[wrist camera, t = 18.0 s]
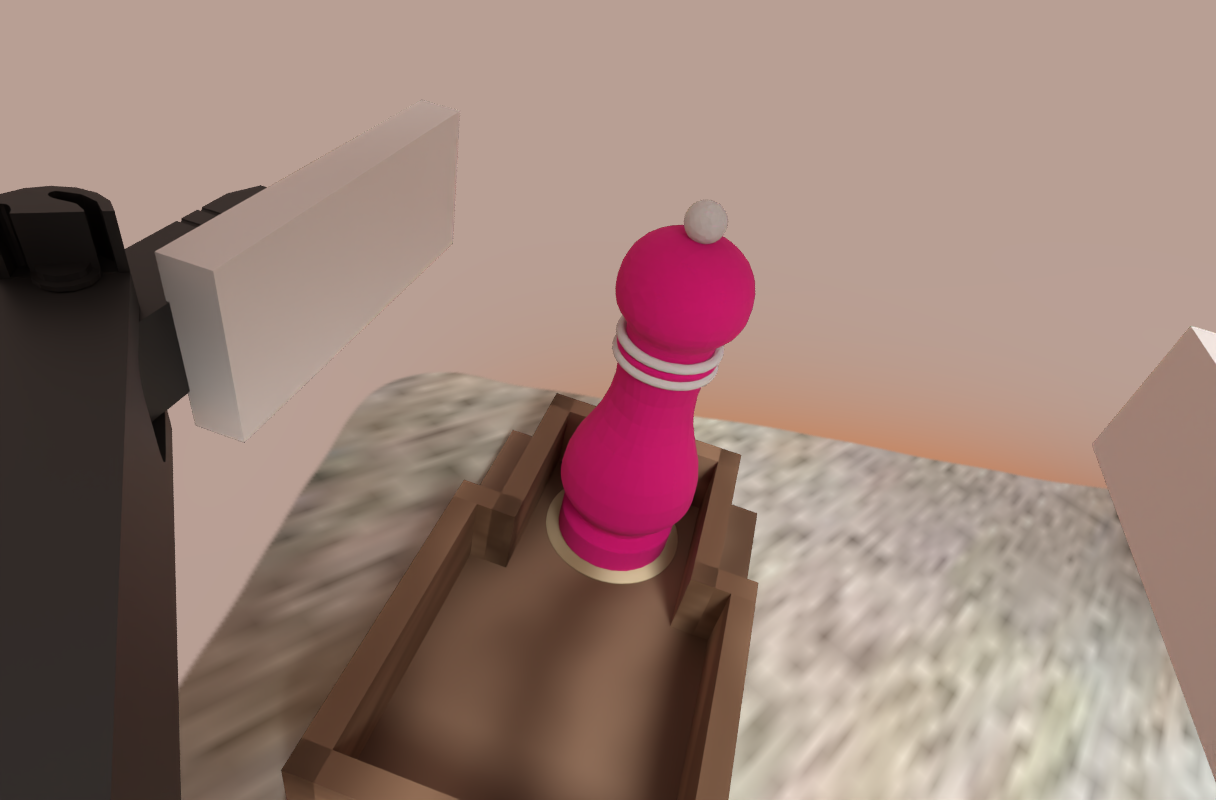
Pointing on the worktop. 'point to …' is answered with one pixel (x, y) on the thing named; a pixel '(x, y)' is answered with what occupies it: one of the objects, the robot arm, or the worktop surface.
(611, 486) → the pepper mill
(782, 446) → the worktop surface
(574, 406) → the keyhole cradle
